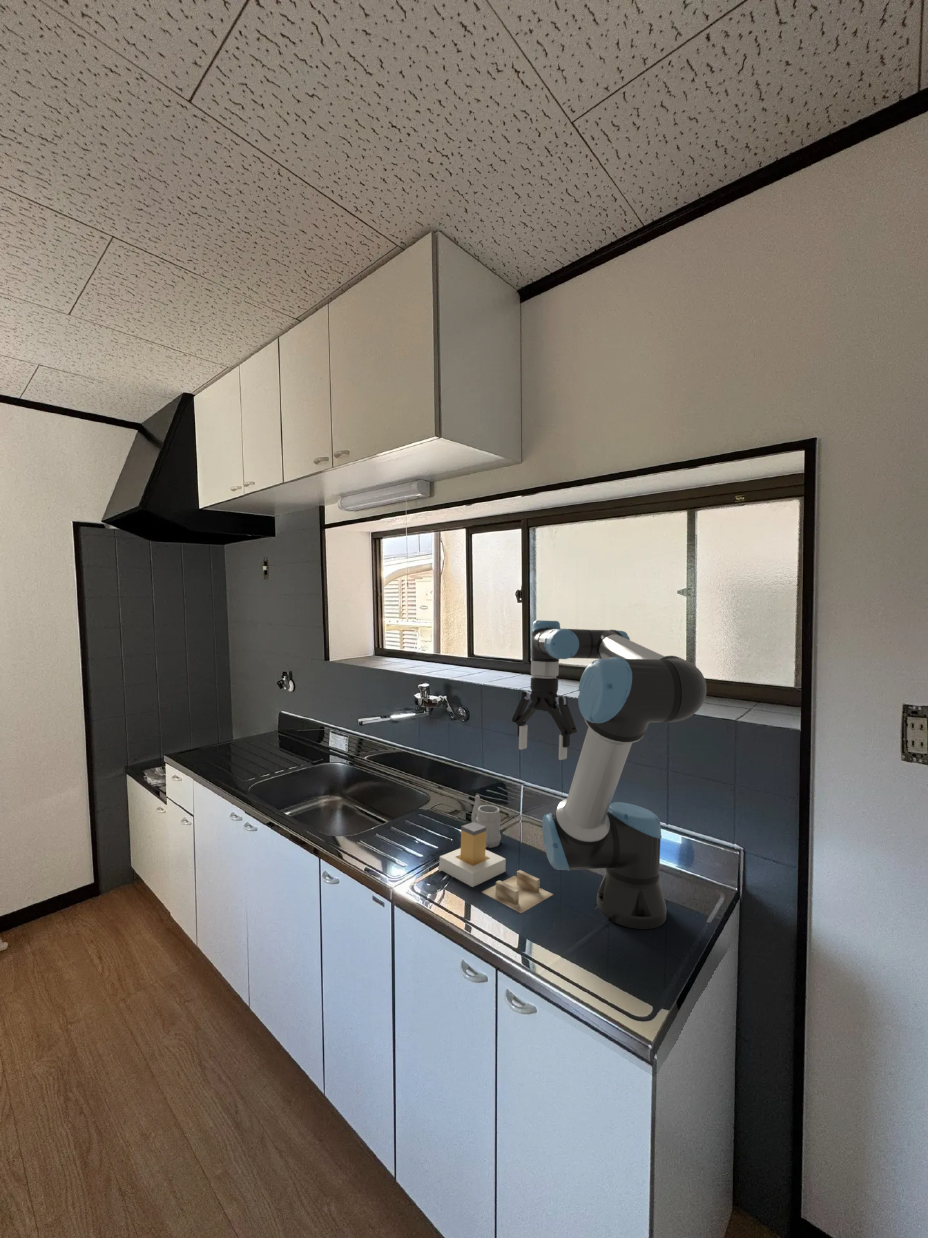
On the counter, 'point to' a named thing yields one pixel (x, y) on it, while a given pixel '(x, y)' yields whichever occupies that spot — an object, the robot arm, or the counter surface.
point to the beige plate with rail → (518, 892)
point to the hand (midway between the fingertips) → (542, 753)
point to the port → (472, 867)
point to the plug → (473, 843)
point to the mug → (488, 821)
